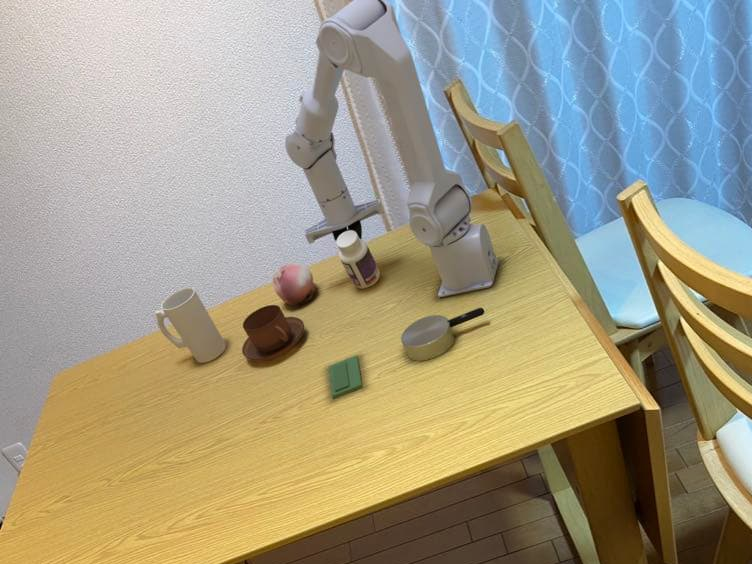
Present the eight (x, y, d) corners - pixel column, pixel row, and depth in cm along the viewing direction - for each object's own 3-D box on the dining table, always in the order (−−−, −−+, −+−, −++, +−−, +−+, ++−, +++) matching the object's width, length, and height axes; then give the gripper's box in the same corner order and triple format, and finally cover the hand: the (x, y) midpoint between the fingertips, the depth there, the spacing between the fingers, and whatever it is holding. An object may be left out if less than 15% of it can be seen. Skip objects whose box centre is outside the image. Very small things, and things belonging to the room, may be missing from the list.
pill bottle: (380, 263, 157) (361, 223, 149) (380, 285, 155) (360, 245, 147) (353, 270, 159) (333, 231, 151) (352, 292, 156) (331, 253, 148)
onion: (279, 301, 165) (262, 268, 161) (314, 281, 166) (298, 248, 161) (290, 316, 159) (272, 283, 155) (326, 295, 160) (309, 262, 155)
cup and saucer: (319, 325, 153) (305, 295, 149) (284, 368, 147) (268, 338, 143) (270, 326, 159) (255, 297, 155) (235, 367, 153) (218, 339, 149)
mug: (231, 337, 162) (199, 283, 154) (222, 358, 157) (188, 303, 149) (186, 350, 165) (152, 297, 157) (176, 371, 161) (140, 318, 153)
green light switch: (358, 357, 140) (356, 353, 140) (362, 387, 134) (360, 382, 133) (330, 368, 141) (327, 364, 140) (333, 399, 134) (330, 394, 134)
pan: (410, 367, 133) (403, 352, 131) (404, 341, 139) (398, 327, 137) (493, 334, 131) (487, 319, 129) (483, 309, 136) (478, 294, 135)
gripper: (368, 168, 151) (395, 237, 160) (293, 201, 153) (324, 267, 162) (371, 183, 146) (399, 254, 155) (294, 216, 148) (326, 284, 157)
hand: (361, 262), depth 158 cm, fingers closed, pressing on pill bottle
